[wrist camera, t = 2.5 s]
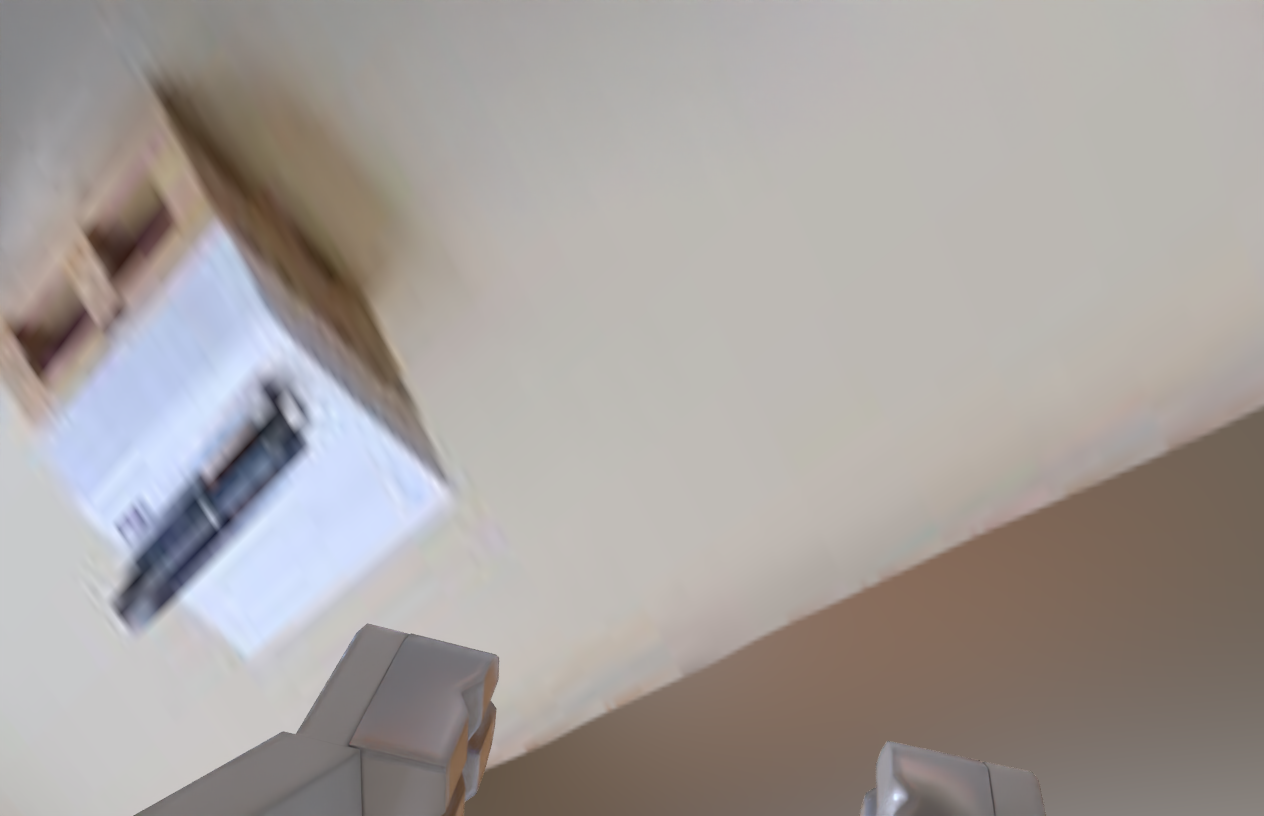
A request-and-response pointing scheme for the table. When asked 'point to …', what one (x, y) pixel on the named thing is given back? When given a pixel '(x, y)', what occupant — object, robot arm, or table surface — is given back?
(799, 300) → the table surface
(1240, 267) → the table surface
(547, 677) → the table surface
